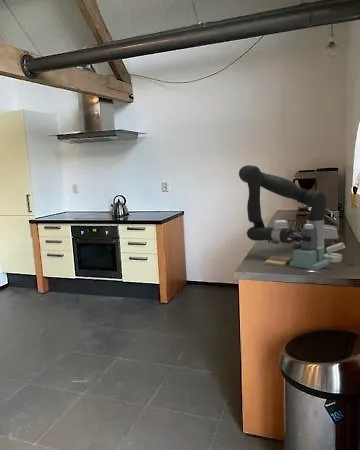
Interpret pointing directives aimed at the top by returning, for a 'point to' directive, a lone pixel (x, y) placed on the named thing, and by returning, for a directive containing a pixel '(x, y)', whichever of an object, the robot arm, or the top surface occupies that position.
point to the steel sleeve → (313, 235)
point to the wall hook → (334, 256)
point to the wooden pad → (277, 261)
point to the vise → (310, 256)
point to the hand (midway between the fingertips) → (313, 238)
